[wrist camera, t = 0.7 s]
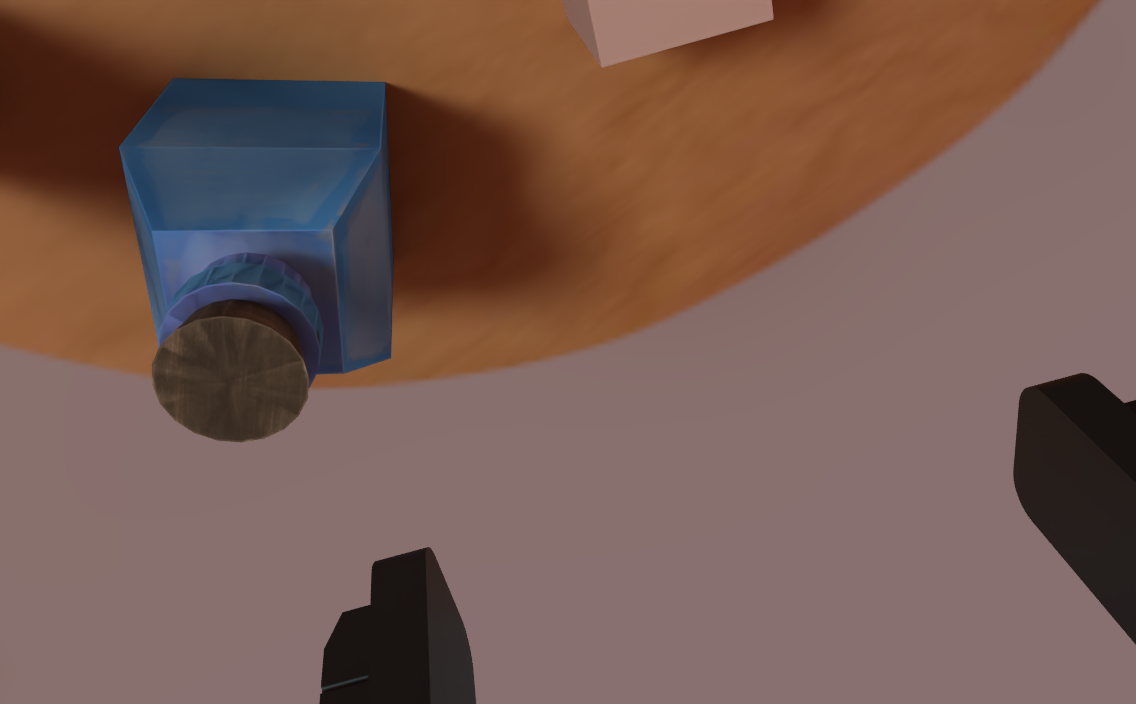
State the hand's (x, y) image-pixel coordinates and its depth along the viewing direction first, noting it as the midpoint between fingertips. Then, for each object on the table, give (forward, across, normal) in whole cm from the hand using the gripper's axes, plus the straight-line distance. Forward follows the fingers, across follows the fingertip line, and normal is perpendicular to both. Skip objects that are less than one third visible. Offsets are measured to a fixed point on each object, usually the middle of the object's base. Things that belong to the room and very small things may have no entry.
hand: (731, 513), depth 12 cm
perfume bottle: (+20, +8, +1) cm, 22 cm away
